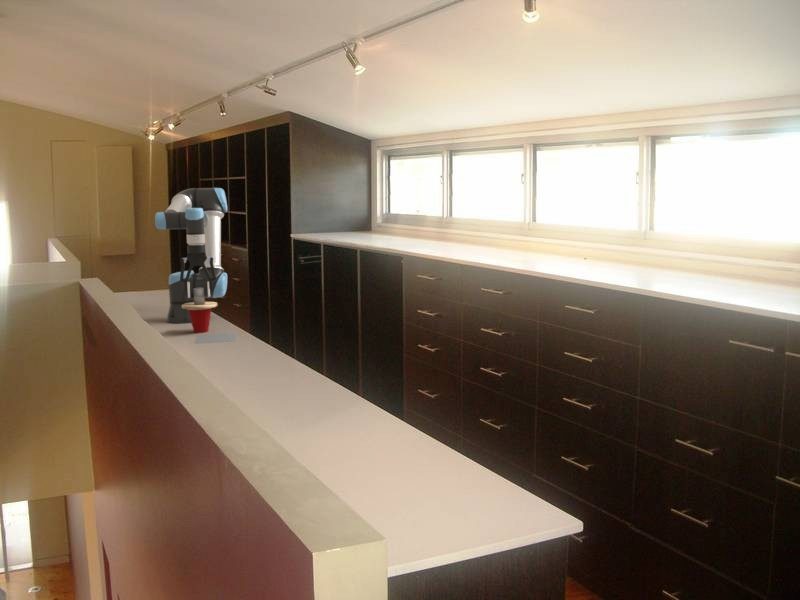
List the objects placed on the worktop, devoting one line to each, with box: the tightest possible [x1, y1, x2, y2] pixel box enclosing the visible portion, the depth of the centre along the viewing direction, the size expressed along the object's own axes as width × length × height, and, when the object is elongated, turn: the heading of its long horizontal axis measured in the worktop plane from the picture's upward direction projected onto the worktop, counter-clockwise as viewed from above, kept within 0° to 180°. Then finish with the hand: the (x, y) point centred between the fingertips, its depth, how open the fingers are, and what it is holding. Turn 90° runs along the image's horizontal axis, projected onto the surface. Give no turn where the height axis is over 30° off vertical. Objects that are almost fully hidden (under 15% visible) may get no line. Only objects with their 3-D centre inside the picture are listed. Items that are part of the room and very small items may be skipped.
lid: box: [182, 288, 218, 309], centre depth 344 cm, size 15×15×8 cm
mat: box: [194, 332, 237, 344], centre depth 332 cm, size 17×16×1 cm
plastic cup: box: [188, 308, 212, 334], centre depth 346 cm, size 11×11×12 cm
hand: (199, 296), depth 344 cm, fingers open, 8 cm apart
